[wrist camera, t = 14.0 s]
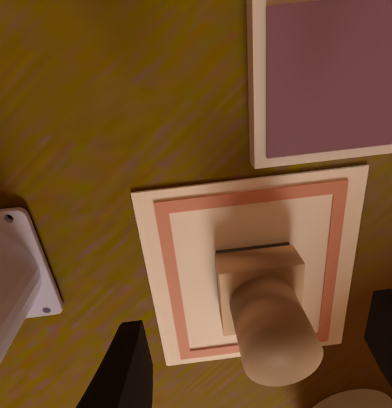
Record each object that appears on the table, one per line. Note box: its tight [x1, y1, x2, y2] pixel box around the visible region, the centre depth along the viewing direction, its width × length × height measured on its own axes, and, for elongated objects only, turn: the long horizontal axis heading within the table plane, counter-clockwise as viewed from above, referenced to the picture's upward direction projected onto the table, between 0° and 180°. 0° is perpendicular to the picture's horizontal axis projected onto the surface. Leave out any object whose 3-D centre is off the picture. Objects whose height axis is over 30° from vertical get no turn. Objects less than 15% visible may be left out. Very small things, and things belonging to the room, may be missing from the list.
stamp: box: [215, 242, 323, 386], centre depth 18 cm, size 5×5×6 cm
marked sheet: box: [131, 165, 369, 366], centre depth 21 cm, size 14×15×1 cm
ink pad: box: [246, 0, 392, 169], centre depth 15 cm, size 8×8×2 cm
